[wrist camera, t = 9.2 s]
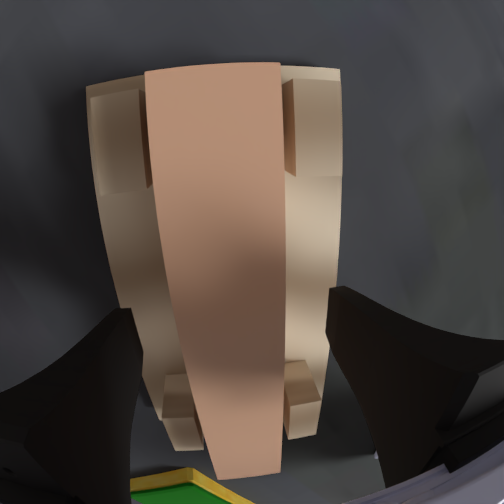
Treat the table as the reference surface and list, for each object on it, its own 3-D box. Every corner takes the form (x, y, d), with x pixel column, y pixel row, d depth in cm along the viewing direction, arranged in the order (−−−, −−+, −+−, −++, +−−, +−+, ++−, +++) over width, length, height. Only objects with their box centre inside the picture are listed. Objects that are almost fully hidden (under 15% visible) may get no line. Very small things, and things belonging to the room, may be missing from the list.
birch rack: (316, 391, 19) (335, 438, 15) (160, 408, 17) (156, 459, 14) (330, 72, 12) (375, 56, 8) (94, 89, 11) (52, 77, 7)
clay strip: (263, 401, 17) (280, 472, 12) (212, 407, 17) (218, 479, 12) (250, 88, 11) (279, 62, 6) (170, 94, 10) (144, 71, 6)
